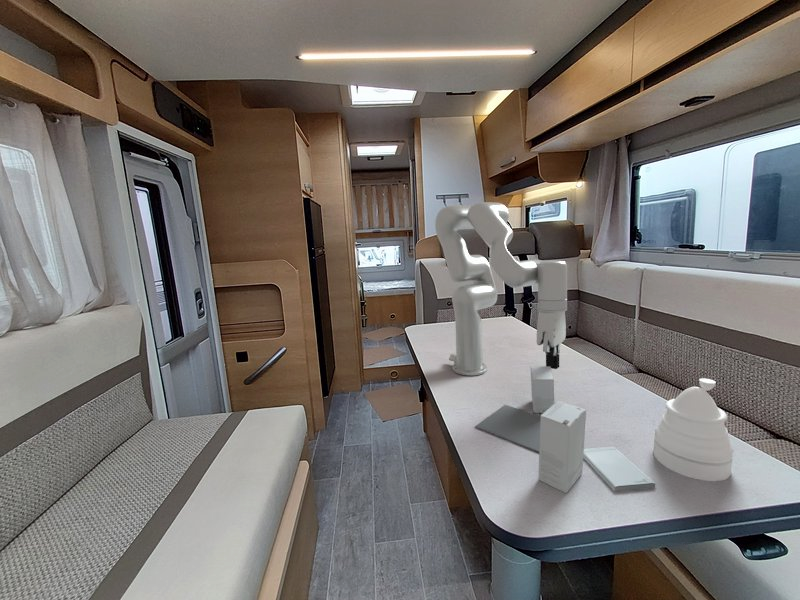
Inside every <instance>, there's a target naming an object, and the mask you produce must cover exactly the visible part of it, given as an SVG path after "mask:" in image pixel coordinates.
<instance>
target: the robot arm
mask: <svg viewBox="0 0 800 600" xmlns="http://www.w3.org/2000/svg"><path fill="white" fill-rule="evenodd" d="M509 217H510V216H509V211H508V208H507V206H505V204H503V203H501V202H493V201H491V202H490V201H487V202H486V201H485V202H484V201H482V202H477V203H475V204H473V205H468V204H467V205H465V204H464V205H462V204H461V205H456V204H455V205H448V206H447V205H446V206H445V207H443V208H441V209H440V210H439V211H438V213H437V215H436V218H435V222H434V226H435V234H436V236H437V238H438V241H439V244H440V245H441V248H442V252H443V255H444V259H445V263H446V266H447V271H448V273H449V277H450V279H451V280H452V281H453V282H455V283H467V282H472V283H471V284H465V285H461V286H459V287H457V288H455V290H454V291H453V293H452V295H451V301H452V302H451V303H452V307H453V311H454V319H455V322H454V324H455V353H456V354H454V353H451V354H450V355H449V358H448V360H449V361H450V362H453V365H452V371H453V372H454V373H456V374H458V375H461V376H468V377H469V376H471V377H472V376H473V377H474V376H478V375H479V376H480V375H483V374H485V373H486V372H487V371H488V366H487V365H486V364H485V363H483V361H484V360H483V359H484V357H483V321H482V319H481V316H480V314H479V313H478V311H480V310H483V309H487V308H491V307H493V306H495V304H496V303H497V301H498V289H497V286H496V283H495V280H494V279H495V278H494V274H493V272H492V269H493V270H494V272H495V273H496V274H497V276H498V277H499V278H500V279H501V280H502V282H503V283H504V284H506V286H509V287H510V288H512V289H513V288H514V289H519V288H525V287H531V286H537V311H538V315H537V324H536V345H537V346H542V352H544V353H545V366H550V367H551V370H552V369H553V370H558V369H559V368H560V351H561V344H562V343H563V342H564V341H565V339H566V336H567V323H566V321H567V319H566V311H567V312H568V265H567V263H566V261H564V260H541V259H527V260H518V261H517V260H516V259H515V258H514V257H513V255H512V254H511V253H510V251H508V249H507V246H508V245H509V244H510V242H511V241H512V239H513V236H514V231H513V229H512V228H511V227H510V226H509V225H508V224H507V223H508V221H509ZM458 230H459V231H460V230H462V231H463V230H464V231H465V230H474V231H476V233H477V234H478V235H479V236H480V237H481V239H482V240H483V242H484V243H485V244H486V245H487V246H488V248H489V261H490V263H489V261H488V259H487V258H486V257H484V256H483V255H481V254H470V253H469V251H468V246H467V243H466V241H465V239H464V238H463V236H462V235H461V234H460V233H458ZM490 264H491V265H490ZM491 267H492V268H491Z"/></svg>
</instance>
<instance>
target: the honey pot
mask: <svg viewBox="0 0 800 600" xmlns="http://www.w3.org/2000/svg"><path fill="white" fill-rule="evenodd" d="M698 383H699V386H700V387H699V386H691V387H688V388H686V389H684V390H683V391H681V392H680V393H679V394H678V396H676V398H671V399H669V400H667V401H666V402H665V409H666V411H665V413H663V415H662V416H661V420H660V421H659V422H658V423H659V424H658V425H657V426H656V427H655V429H654V440H653V441H654V442H653V451H652V452H653V456H654V458H655V459H656V460H657V461H658V462H659V463H660V464H662V465H663V466H664V467H666V468H667V469H668V470H671V471H673V472H675V473H677V474H680V475H682V476H685V477H688V478H692V479H695V480H699V481H706V482H720V481H725V480H727V479H728V478H730V476H731V475H732V474H731V473H732V468H733V467H732V465H733V457H734V454H733V453H734V448H733V444H732V442H731V439H730V435H729V430H728V428H727V427H726V425H725V423H726V422H727V420H728V414H727V413H726V412H725V411H724V410H723V409H721V408H720V407H718V406H717V404H716V401H715V400H714V399H713V398H712V396H711V395H710V393H708V392H707V391H711V390H713V389H714V388H715V386H716V383H717V382H716V381H715V380H713V379H710V378H705V377H702V378H699V379H698Z"/></svg>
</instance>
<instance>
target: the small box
mask: <svg viewBox="0 0 800 600" xmlns="http://www.w3.org/2000/svg"><path fill="white" fill-rule="evenodd" d="M553 375H554V374H553V370H552V368H551V367H550V366H546V365H544V366H540V365H539V366H538V365H537V366H536V365H531V366H530V385H531V387H530V388H531V389H530V391H531V402H532V411H533V414H535V413H537V414H539V413H540V414H543V413H544V412H545V411H547V410H548V409H549V408H550V407H551V406H552V405H554V404H555V382H554V381H555V379H554V376H553Z"/></svg>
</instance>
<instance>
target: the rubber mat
mask: <svg viewBox="0 0 800 600" xmlns="http://www.w3.org/2000/svg"><path fill="white" fill-rule="evenodd" d="M540 422H541V415H538V414H535V413H534V412H533V413H532V412H530V411H526V410H523V409H520V408H518V407H514V406H511V405H508V404H504V405H502V406H501V407H499V409H497V410H496V411H494V412H492V414H490V415H489V416H487V417H486V418H484V419H483V420H482V421H480V422H478V423H477V424H476V425H474V428H476V429H478V430H481V431H483V432H485V433H488V434H491V435H494V436H496V437H497V438H501V439H503V440H504V441H508V442H510V443H514V444H515V445H518V446H521V447H523V448H525V449H528V450H530V451H533V452H536V453H538V454H539V449H540Z"/></svg>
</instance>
